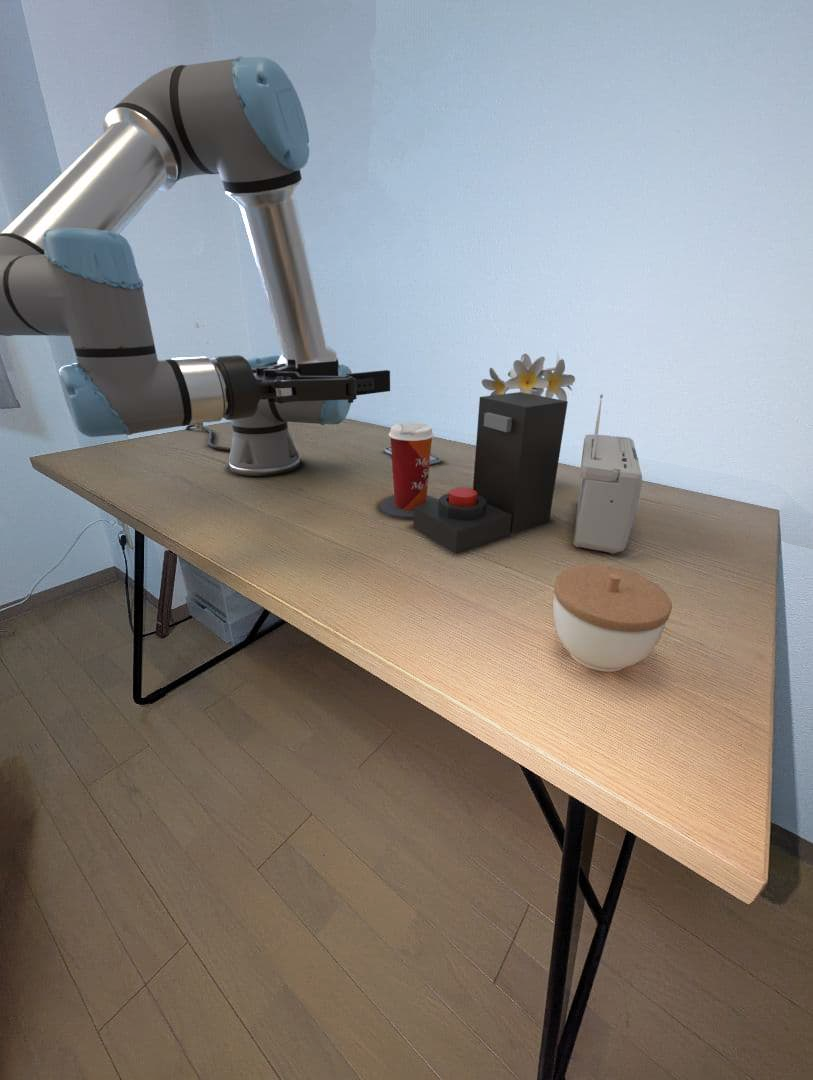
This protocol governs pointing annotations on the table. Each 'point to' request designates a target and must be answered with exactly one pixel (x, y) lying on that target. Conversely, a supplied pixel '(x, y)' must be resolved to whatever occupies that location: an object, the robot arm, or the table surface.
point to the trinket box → (608, 615)
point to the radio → (607, 492)
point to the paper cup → (410, 463)
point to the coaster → (393, 511)
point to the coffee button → (463, 497)
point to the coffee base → (461, 523)
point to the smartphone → (432, 458)
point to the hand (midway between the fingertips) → (361, 375)
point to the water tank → (519, 455)
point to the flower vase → (532, 378)
